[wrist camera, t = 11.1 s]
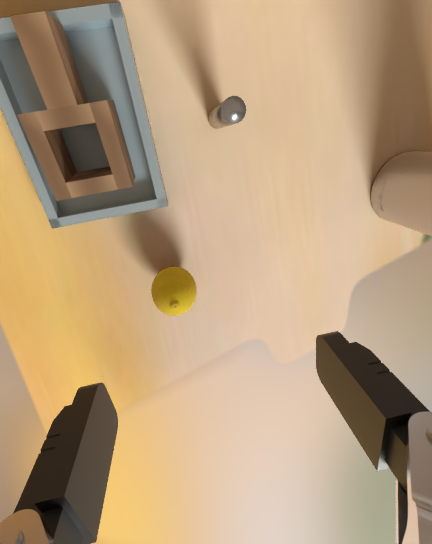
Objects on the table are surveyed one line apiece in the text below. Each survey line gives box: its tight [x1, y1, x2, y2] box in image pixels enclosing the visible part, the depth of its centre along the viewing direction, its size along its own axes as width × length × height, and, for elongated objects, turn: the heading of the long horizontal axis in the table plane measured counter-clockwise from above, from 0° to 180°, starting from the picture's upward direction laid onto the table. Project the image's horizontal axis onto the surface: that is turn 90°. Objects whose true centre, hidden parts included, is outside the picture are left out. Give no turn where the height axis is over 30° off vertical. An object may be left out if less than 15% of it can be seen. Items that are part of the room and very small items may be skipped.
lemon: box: [152, 267, 196, 315], centre depth 35 cm, size 6×6×8 cm
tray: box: [0, 2, 168, 228], centre depth 29 cm, size 13×18×2 cm
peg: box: [208, 96, 246, 129], centre depth 28 cm, size 2×2×9 cm
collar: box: [10, 11, 136, 201], centre depth 26 cm, size 8×14×4 cm, turn 8°
